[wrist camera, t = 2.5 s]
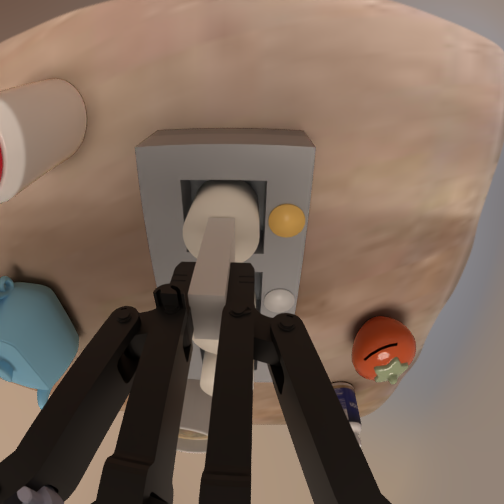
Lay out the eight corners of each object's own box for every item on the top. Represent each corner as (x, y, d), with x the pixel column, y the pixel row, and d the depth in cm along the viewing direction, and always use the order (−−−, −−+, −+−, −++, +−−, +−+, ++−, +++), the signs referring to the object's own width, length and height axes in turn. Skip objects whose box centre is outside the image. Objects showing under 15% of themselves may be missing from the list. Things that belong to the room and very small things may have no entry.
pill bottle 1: (45, 177, 23) (-31, 239, 14) (10, 112, 19) (-76, 153, 10) (102, 134, 22) (18, 187, 12) (63, 60, 18) (-34, 78, 9)
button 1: (207, 364, 30) (202, 398, 26) (202, 334, 27) (197, 371, 24) (253, 366, 30) (252, 400, 26) (254, 336, 27) (254, 373, 24)
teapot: (44, 354, 39) (18, 411, 30) (-13, 263, 29) (-59, 322, 20) (105, 362, 39) (82, 430, 29) (48, 258, 29) (-6, 333, 19)
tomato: (394, 294, 31) (420, 351, 24) (410, 329, 34) (432, 381, 27) (335, 324, 33) (348, 384, 26) (358, 355, 36) (372, 408, 30)
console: (186, 343, 35) (179, 379, 31) (157, 130, 22) (133, 148, 17) (280, 346, 35) (282, 383, 31) (303, 130, 22) (316, 148, 17)
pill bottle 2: (356, 393, 42) (367, 450, 34) (320, 403, 43) (327, 460, 35) (349, 376, 39) (362, 439, 31) (310, 387, 40) (317, 450, 32)
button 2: (196, 234, 23) (186, 266, 20) (192, 176, 20) (179, 200, 17) (257, 235, 23) (258, 268, 20) (260, 176, 21) (261, 201, 17)
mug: (235, 366, 37) (231, 437, 29) (215, 398, 42) (210, 458, 34) (150, 344, 35) (131, 414, 27) (144, 380, 40) (130, 440, 32)
